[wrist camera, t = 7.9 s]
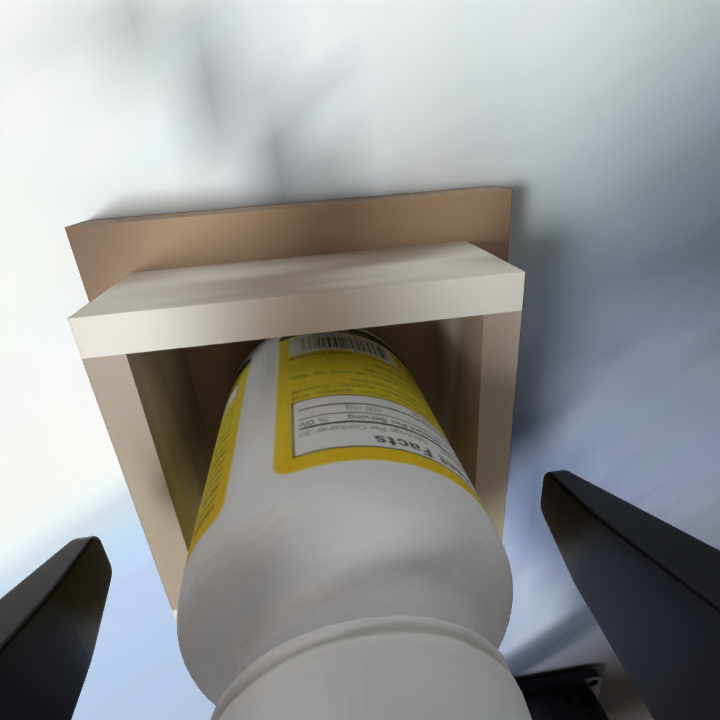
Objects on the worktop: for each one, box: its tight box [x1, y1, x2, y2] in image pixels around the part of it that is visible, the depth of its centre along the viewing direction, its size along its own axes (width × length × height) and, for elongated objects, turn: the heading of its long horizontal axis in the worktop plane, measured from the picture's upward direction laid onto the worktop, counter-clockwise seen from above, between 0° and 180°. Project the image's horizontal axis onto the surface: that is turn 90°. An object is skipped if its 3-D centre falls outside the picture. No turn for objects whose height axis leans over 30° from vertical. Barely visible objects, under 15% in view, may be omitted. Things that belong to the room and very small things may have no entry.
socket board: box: [65, 186, 525, 623], centre depth 12 cm, size 11×11×5 cm
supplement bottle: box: [177, 328, 532, 720], centre depth 9 cm, size 5×5×10 cm
